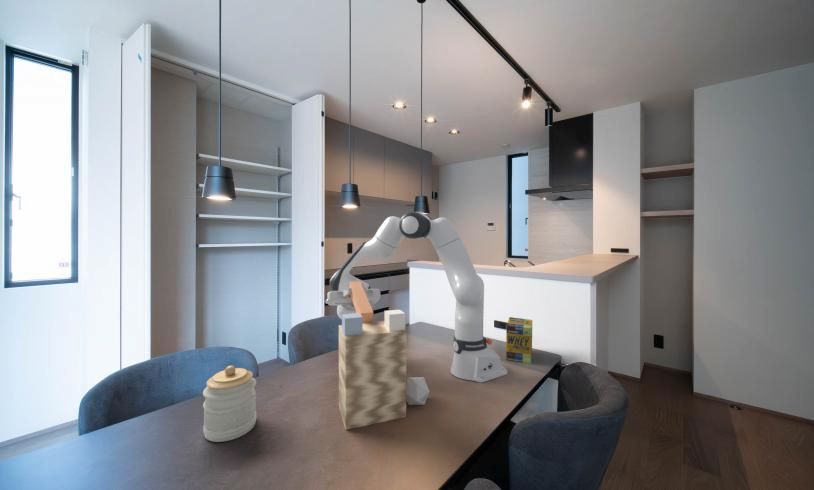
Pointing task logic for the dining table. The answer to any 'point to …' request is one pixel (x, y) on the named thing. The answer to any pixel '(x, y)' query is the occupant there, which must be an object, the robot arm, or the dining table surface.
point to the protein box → (519, 340)
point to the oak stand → (372, 375)
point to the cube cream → (394, 320)
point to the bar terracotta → (361, 301)
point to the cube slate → (352, 324)
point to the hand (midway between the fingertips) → (357, 289)
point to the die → (416, 391)
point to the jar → (229, 404)
